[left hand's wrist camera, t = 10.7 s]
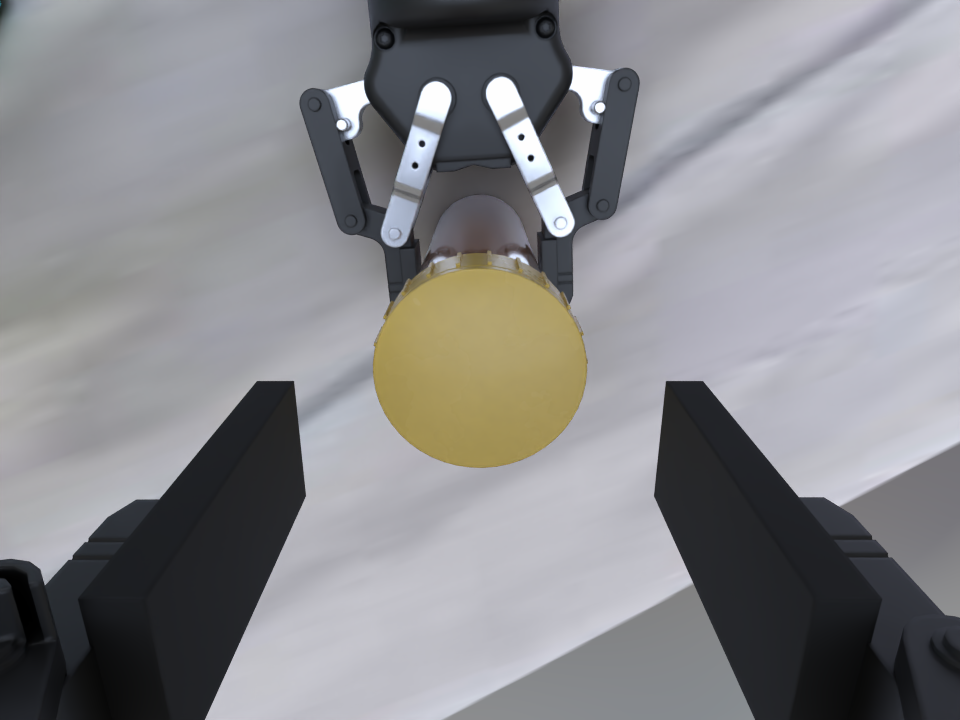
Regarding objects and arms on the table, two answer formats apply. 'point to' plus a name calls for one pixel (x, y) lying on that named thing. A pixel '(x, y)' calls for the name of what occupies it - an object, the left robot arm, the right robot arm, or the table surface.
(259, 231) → the table surface
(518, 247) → the pinkish brown bottle
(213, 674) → the left robot arm
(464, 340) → the lid
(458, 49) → the right robot arm
